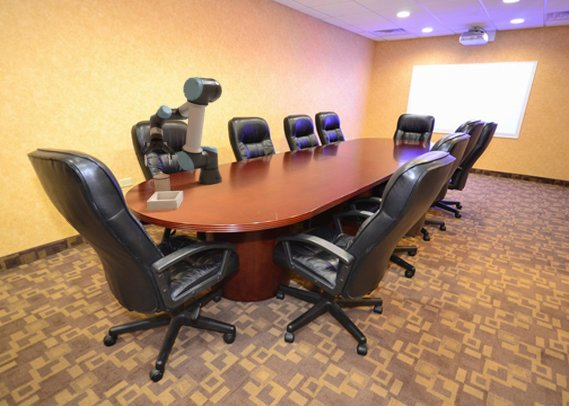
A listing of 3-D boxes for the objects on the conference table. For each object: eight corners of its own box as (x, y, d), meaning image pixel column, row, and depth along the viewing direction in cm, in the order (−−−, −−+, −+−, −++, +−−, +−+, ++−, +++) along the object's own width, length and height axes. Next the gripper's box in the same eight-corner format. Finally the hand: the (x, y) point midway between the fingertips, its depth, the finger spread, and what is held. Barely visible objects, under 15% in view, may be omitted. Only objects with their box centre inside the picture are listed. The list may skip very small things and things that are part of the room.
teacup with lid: (170, 188, 190) (168, 169, 186) (172, 192, 182) (169, 172, 178) (149, 190, 185) (146, 171, 181) (149, 194, 177) (147, 174, 173)
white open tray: (183, 198, 170) (182, 190, 168) (177, 209, 154) (176, 200, 152) (156, 199, 168) (155, 191, 167) (147, 210, 152) (146, 201, 151)
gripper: (178, 139, 203) (180, 166, 194) (136, 140, 196) (136, 169, 187) (176, 132, 197) (179, 159, 188) (134, 133, 190) (134, 162, 181)
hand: (158, 164), depth 188 cm, fingers open, 13 cm apart
